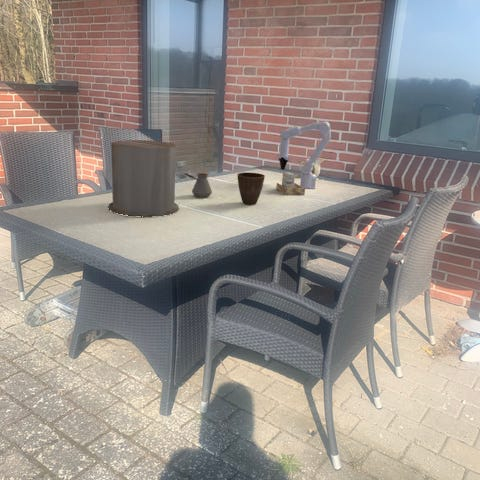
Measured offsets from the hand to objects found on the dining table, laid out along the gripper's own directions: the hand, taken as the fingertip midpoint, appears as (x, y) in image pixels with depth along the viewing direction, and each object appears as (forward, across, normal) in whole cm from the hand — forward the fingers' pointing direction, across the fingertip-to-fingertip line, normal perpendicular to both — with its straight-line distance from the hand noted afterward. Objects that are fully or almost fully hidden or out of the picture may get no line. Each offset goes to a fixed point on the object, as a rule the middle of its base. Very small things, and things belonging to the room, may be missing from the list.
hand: (282, 169), depth 331 cm
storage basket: (+11, +61, -95) cm, 113 cm away
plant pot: (+11, +52, -37) cm, 65 cm away
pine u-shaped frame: (+10, +22, -2) cm, 24 cm away
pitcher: (+11, -27, +32) cm, 43 cm away
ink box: (+11, +22, -4) cm, 24 cm away
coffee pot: (+11, +37, -64) cm, 75 cm away
